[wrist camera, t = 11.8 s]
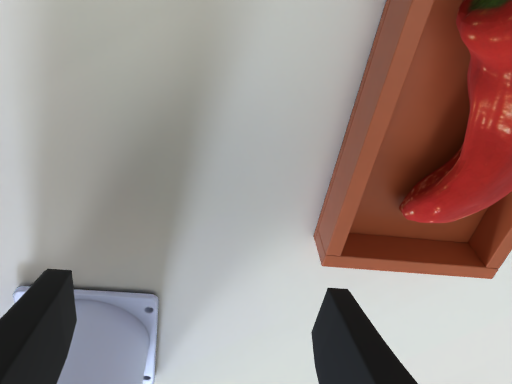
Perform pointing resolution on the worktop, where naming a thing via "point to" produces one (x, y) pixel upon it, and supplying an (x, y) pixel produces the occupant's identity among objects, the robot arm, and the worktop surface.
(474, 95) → the vegetable
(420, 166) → the tray
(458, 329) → the worktop surface
